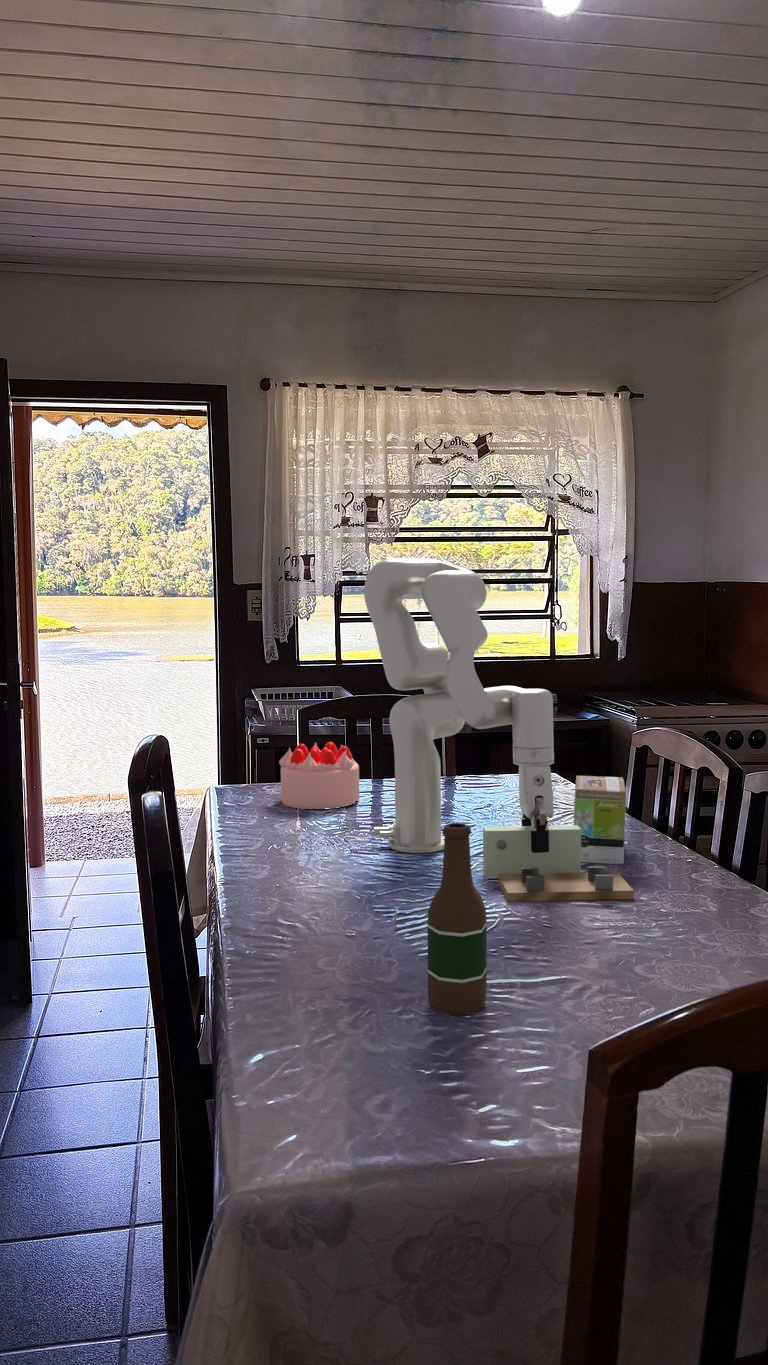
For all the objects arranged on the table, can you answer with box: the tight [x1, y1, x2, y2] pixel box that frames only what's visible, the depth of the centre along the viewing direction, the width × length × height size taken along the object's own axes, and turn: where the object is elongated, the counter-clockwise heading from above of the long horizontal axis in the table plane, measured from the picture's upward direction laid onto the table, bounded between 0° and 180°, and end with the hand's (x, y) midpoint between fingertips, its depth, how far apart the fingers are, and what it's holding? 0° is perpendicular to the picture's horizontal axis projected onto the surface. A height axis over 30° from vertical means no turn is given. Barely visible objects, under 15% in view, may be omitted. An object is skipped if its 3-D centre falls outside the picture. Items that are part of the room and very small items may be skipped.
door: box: [482, 824, 582, 879], centre depth 185 cm, size 18×4×9 cm, turn 92°
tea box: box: [573, 775, 627, 865], centre depth 199 cm, size 15×10×15 cm, turn 168°
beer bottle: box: [427, 822, 488, 1016], centre depth 128 cm, size 8×8×24 cm
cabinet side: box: [497, 871, 635, 902], centre depth 176 cm, size 22×11×2 cm, turn 92°
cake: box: [278, 741, 360, 810], centre depth 248 cm, size 20×20×14 cm
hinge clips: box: [521, 865, 613, 892], centre depth 174 cm, size 15×6×2 cm, turn 92°
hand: (535, 845), depth 185 cm, fingers open, 9 cm apart
